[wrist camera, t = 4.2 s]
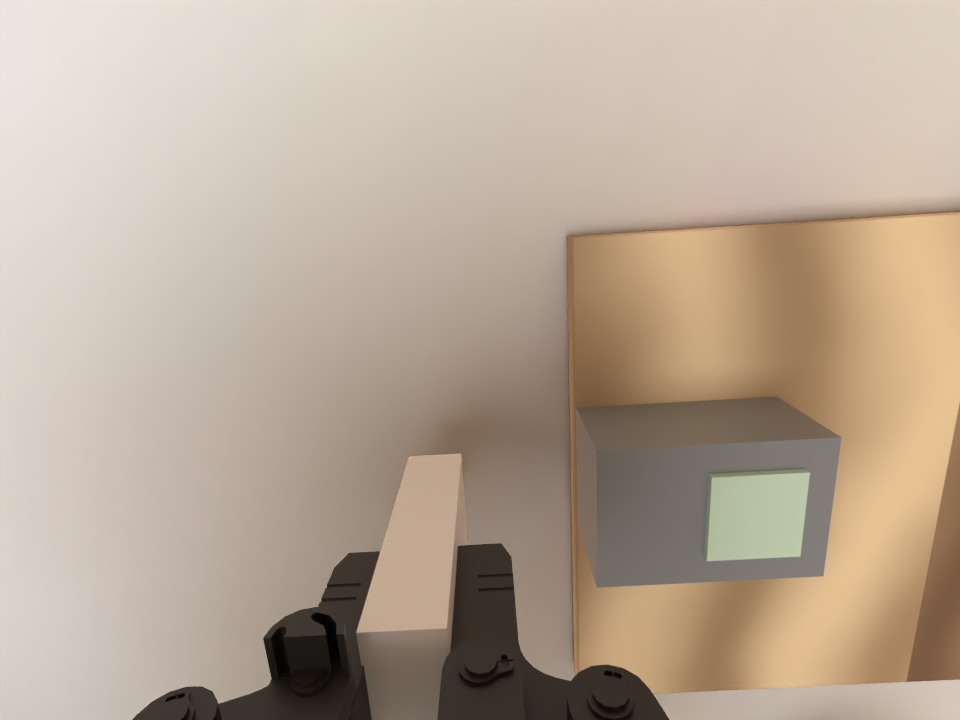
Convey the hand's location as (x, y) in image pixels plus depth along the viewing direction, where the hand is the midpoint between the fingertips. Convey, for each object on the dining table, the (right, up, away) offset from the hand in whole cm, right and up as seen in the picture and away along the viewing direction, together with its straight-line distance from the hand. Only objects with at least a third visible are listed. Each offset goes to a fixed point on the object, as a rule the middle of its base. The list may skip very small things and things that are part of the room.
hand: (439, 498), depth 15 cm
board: (+13, 0, +3) cm, 14 cm away
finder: (+7, +1, +1) cm, 7 cm away
